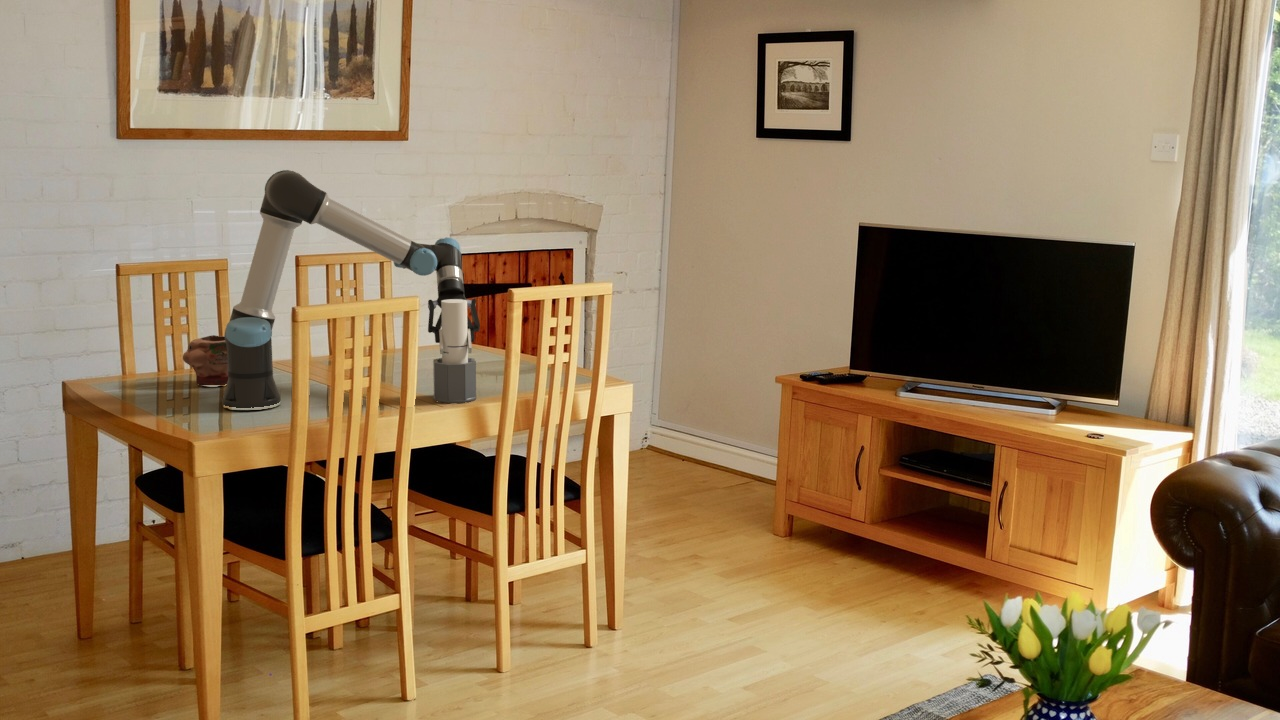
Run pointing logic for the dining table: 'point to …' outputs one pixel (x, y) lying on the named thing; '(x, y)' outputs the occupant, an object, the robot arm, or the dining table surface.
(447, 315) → the cylindrical container
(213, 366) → the decorative planter
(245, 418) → the dining table surface
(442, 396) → the holder sleeve
